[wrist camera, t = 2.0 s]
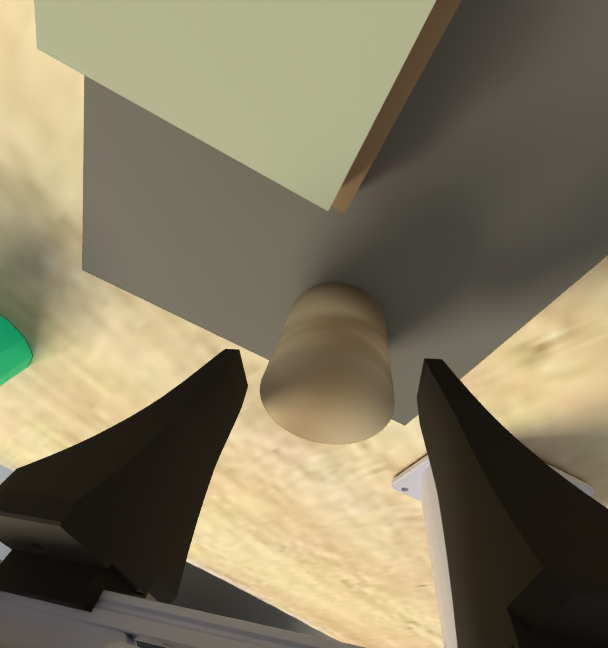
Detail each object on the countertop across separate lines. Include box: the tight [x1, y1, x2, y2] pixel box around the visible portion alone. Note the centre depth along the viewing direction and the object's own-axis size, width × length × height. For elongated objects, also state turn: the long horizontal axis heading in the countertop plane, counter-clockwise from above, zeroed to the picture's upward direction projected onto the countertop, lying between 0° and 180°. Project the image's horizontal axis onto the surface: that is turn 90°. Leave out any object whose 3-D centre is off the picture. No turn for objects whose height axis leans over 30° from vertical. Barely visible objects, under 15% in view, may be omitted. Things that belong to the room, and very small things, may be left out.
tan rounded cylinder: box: [260, 282, 395, 445], centre depth 12 cm, size 5×5×5 cm
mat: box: [82, 0, 608, 425], centre depth 12 cm, size 20×18×1 cm
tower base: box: [331, 0, 462, 213], centre depth 8 cm, size 7×7×3 cm
